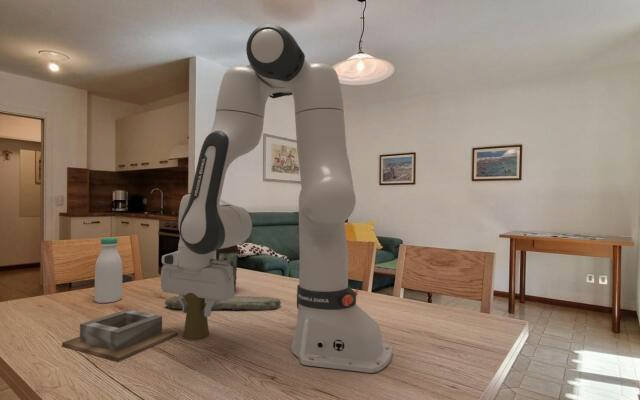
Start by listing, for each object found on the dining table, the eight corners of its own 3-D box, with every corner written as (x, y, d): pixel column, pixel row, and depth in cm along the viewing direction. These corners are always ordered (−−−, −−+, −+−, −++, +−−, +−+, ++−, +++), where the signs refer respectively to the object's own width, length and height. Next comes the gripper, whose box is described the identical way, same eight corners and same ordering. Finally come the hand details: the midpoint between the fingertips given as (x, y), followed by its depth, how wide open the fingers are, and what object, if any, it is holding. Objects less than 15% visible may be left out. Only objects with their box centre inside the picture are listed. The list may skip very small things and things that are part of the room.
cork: (201, 341, 86) (201, 294, 86) (177, 338, 87) (178, 292, 87) (213, 331, 92) (214, 288, 92) (191, 329, 93) (192, 286, 93)
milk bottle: (127, 299, 119) (127, 238, 119) (102, 305, 112) (103, 240, 112) (114, 295, 123) (114, 236, 123) (89, 300, 117) (90, 238, 116)
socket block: (177, 335, 89) (177, 315, 89) (118, 361, 75) (118, 338, 74) (125, 323, 96) (125, 305, 96) (62, 346, 82) (62, 324, 82)
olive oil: (200, 292, 130) (201, 221, 130) (227, 287, 137) (228, 220, 137) (215, 298, 122) (216, 223, 122) (243, 292, 129) (244, 222, 129)
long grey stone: (278, 317, 108) (280, 309, 118) (280, 299, 108) (282, 293, 118) (158, 311, 107) (171, 303, 117) (160, 292, 107) (172, 286, 117)
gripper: (240, 259, 88) (239, 316, 88) (175, 252, 96) (175, 305, 96) (223, 263, 82) (222, 324, 82) (156, 256, 90) (155, 312, 90)
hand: (196, 314), depth 89 cm, fingers open, 4 cm apart
